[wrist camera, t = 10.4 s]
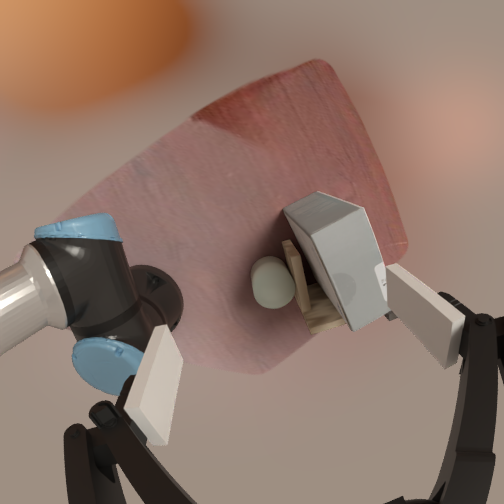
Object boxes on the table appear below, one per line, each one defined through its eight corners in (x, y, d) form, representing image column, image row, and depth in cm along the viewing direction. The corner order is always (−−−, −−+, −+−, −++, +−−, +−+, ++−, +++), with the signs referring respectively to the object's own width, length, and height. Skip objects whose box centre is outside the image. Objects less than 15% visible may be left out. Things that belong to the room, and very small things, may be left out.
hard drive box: (349, 260, 55) (398, 308, 36) (315, 279, 56) (351, 336, 37) (318, 188, 51) (365, 206, 32) (280, 207, 51) (307, 237, 32)
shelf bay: (294, 295, 57) (315, 345, 41) (281, 241, 53) (302, 278, 37) (357, 276, 56) (397, 317, 40) (350, 223, 53) (394, 250, 37)
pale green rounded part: (251, 292, 56) (254, 310, 49) (249, 258, 54) (251, 272, 47) (288, 288, 56) (295, 306, 50) (287, 254, 54) (295, 268, 47)
